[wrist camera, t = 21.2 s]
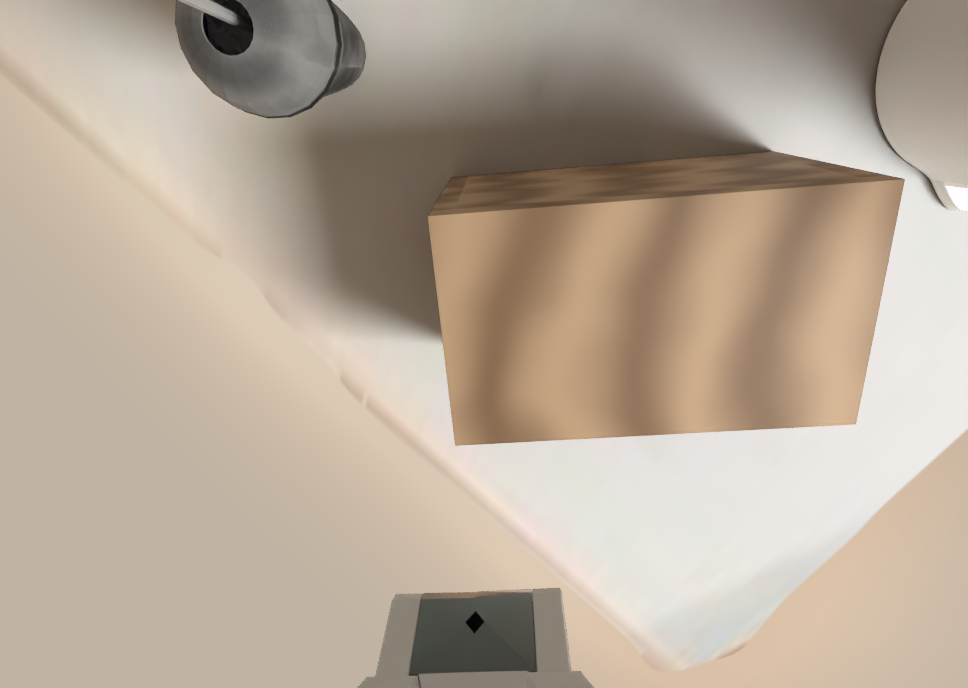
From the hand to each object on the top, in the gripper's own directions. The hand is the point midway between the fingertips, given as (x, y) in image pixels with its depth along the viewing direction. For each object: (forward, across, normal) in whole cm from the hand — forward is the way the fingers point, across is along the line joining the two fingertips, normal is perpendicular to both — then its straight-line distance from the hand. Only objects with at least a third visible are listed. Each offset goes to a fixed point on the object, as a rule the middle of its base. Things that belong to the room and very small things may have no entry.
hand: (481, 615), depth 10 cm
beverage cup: (+34, +10, -12) cm, 38 cm away
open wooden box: (+34, -8, +3) cm, 35 cm away
